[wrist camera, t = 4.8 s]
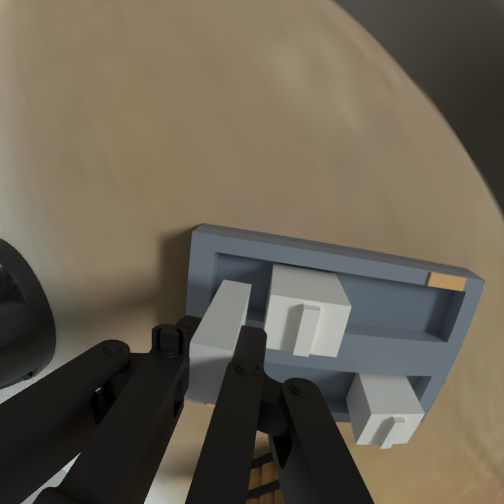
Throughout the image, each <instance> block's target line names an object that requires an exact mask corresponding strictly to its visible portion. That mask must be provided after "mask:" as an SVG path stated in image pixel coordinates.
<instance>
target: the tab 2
mask: <svg viewBox="0 0 504 504" xmlns="http://www.w3.org/2000/svg"><path fill="white" fill-rule="evenodd" d="M346 402H347V407H348V411H349V415H350V420H351V424H352V429H353V433H354V438H355V443H356V444H363V445H367V444H379V447H380V449H387V448H391V446H392V445H393V444H403V443H407V442H408V441H409V439H410V437H411V436H412V434H413V433H414V431H415V429H416V428H417V426H418V424H419V423H420V421H421V419H422V418H423V416H424V414H425V413H424V411H423V409H422V407H421V405H420V403H419V401H418V399H417V397H416V395H415V393H414V391H413V389H412V387H411V385H410V383H409V381H408V379H407V377H406V375H385V374H369V373H356V374H355V377H354V379H353V382H352V384H351V387H350V390H349V392H348V395H347V397H346Z"/></svg>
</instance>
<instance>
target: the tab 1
mask: <svg viewBox="0 0 504 504" xmlns="http://www.w3.org/2000/svg"><path fill="white" fill-rule="evenodd" d="M351 307H352V306H351V304H350V302H349V300H348V298H347V296H346V294H345V292H344V289H343V287H342V285H341V283H340V281H339V279H338V277H337V275H336V273H329V272H323V271H317V270H311V269H304V268H298V267H292V266H286V265H279V264H273V269H272V275H271V280H270V286H269V292H268V297H267V303H266V310H265V319H264V327H263V329H264V330H265V332H266V334H267V342H266V348H269V349H276V350H283V351H290V352H293V355H297V356H305V357H309V354H312V355H321V356H330V357H337V354H338V351H339V347H340V344H341V341H342V338H343V334H344V331H345V328H346V324H347V321H348V317H349V314H350V310H351Z"/></svg>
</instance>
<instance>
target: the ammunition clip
mask: <svg viewBox="0 0 504 504" xmlns="http://www.w3.org/2000/svg"><path fill="white" fill-rule="evenodd" d="M246 504H285V502H284V499H283V495H282V491H281V487H280V483H279V479H278V475H277V471H276V467H275V464H274V460H273V456H272V452H270V453H268V454H266V455H264V456H261V457H259V458H257V459H255V460H252V467H251V474H250V481H249V487H248V494H247V501H246Z"/></svg>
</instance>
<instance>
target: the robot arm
mask: <svg viewBox="0 0 504 504" xmlns="http://www.w3.org/2000/svg"><path fill="white" fill-rule="evenodd" d="M251 285H252V284H246V283H240V282H235V281H229V280H223V282H222V284H221V286H220V287H219V289H218V291H217V293H216V295H215V297H214V299H213V300H212V302H211V304H210V306H209V308H208V310H207V312H206V313H205V315H204V317H203V318H199V317H194V316H190V315H186V316H184V317H183V318H181V319H179V321H178V322H177V324H176V325H169V324H165V325H159V326H156V327H154V328H153V329H152V349H151V350H150V352H149V353H130V348H129V346H128V345H127V344H126V343H124V342H122V341H119V340H105V341H103V342H100V343H98V344H97V345H95V346H94V347H92V348H90V349H89V350H87V351H85V352H84V353H82V354H81V355H79V356H77V357H76V358H74V359H73V360H71V361H69V362H68V363H66V364H64V365H63V366H61V367H60V368H58V369H56V370H55V371H53V372H51V373H50V374H48V375H47V376H45V377H43V378H42V379H40V380H39V381H37V382H35V383H34V384H32V385H30V386H29V387H27V388H26V389H24V390H22V391H21V392H19V393H17V394H16V395H14V396H13V397H11V398H9V399H8V400H6V401H5V402H3V403H1V404H0V504H20V503H22V502H23V501H24V500H25V499H26V498H27V497H29V496H30V495H31V494H32V493H33V492H35V491H36V490H37V489H38V488H40V487H41V486H42V485H43V484H44V483H46V482H47V481H48V480H49V479H50V478H51V477H53V476H54V475H55V474H56V473H57V472H59V471H60V470H61V469H62V468H63V467H64V466H66V465H67V464H68V463H69V462H70V461H71V460H72V459H74V458H75V457H76V456H77V455H78V454H79V453H80V455H79V456H78V458H77V459H76V461H75V462H74V464H73V465H72V467H71V468H70V470H69V471H68V473H67V474H66V476H65V478H64V479H63V481H62V482H61V484H60V485H59V486H57V487H47V488H45V489H43V490H42V491H41V492H40V494H39V495H38V496H37V498H36V499H35V501H34V502H33V504H144V502H145V499H146V497H147V494H148V492H149V489H150V487H151V485H152V482H153V480H154V477H155V475H156V472H157V470H158V468H159V465H160V463H161V460H162V458H163V456H164V453H165V451H166V448H167V446H168V443H169V441H170V439H171V436H172V434H173V431H174V429H175V426H176V424H177V422H178V419H179V417H180V414H181V412H182V410H183V407H184V396H185V394H186V392H187V399H191V400H195V401H200V402H204V403H209V404H213V405H215V408H214V411H213V414H212V418H211V421H210V424H209V427H208V431H207V434H206V437H205V440H204V444H203V447H202V450H201V453H200V457H199V460H198V463H197V466H196V469H195V473H194V476H193V479H192V482H191V486H190V489H189V492H188V495H187V498H186V502H185V504H246V501H247V494H248V487H249V481H250V474H251V467H252V460H253V453H254V446H255V438H256V431H257V430H258V431H261V432H263V433H266V434H268V439H269V444H270V448H271V452H272V456H273V460H274V464H275V467H276V471H277V475H278V479H279V483H280V487H281V491H282V495H283V499H284V502H285V504H374V502H373V500H372V498H371V495H370V493H369V491H368V489H367V487H366V485H365V483H364V481H363V479H362V477H361V475H360V473H359V471H358V468H357V466H356V464H355V462H354V460H353V458H352V456H351V454H350V452H349V450H348V448H347V446H346V444H345V441H344V439H343V437H342V435H341V433H340V431H339V429H338V427H337V425H336V423H335V421H334V419H333V417H332V415H331V412H330V410H329V408H328V406H327V404H326V402H325V400H324V398H323V396H322V394H321V392H320V390H319V388H318V387H317V385H316V384H315V383H313V382H312V381H310V380H307V379H304V378H297V377H295V378H289V379H287V380H285V381H284V383H281V382H278V381H276V380H274V379H272V378H270V377H269V376H268V375H267V374H266V373H265V371H264V360H265V351H266V342H267V334H266V332H265V330H264V329H262V328H256V327H251V326H245V323H246V316H247V310H248V304H249V298H250V291H251ZM55 344H56V335H55V327H54V321H53V317H52V313H51V310H50V307H49V304H48V301H47V298H46V296H45V293H44V291H43V289H42V287H41V285H40V283H39V281H38V279H37V277H36V275H35V274H34V272H33V270H32V269H31V267H30V266H29V264H28V263H27V262H26V260H25V259H24V258H23V257H22V255H21V254H20V253H19V252H18V251H17V250H16V249H15V248H14V247H13V246H11V245H10V244H9V243H7V242H6V241H4V240H2V239H0V389H3V388H6V387H9V386H12V385H14V384H17V383H19V382H21V381H24V380H28V379H31V378H33V377H35V376H36V375H37V374H39V373H40V372H41V371H42V370H43V369H44V368H45V367H46V366H47V365H48V364H49V363H50V361H51V360H52V358H53V355H54V351H55ZM99 388H101V389H99ZM97 389H99V390H98V391H96V390H97ZM95 391H96V392H95Z"/></svg>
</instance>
